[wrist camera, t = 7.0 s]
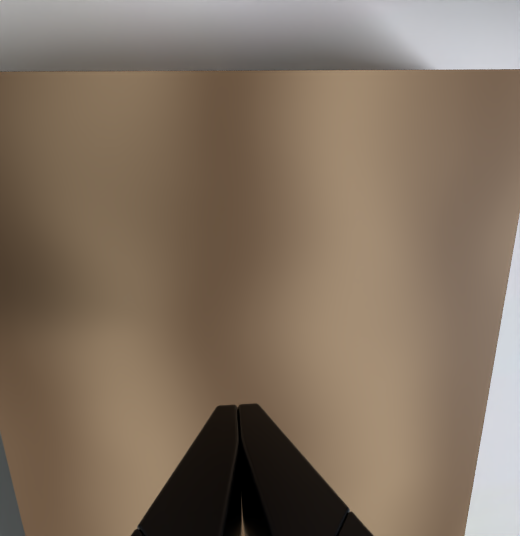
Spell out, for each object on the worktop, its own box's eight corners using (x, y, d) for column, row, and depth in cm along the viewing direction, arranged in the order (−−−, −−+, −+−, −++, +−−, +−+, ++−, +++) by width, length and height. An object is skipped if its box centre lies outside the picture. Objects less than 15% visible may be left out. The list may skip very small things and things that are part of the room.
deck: (454, 86, 14) (544, 68, 10) (398, 579, 21) (439, 681, 17) (4, 90, 13) (-87, 71, 9) (100, 612, 19) (72, 728, 16)
